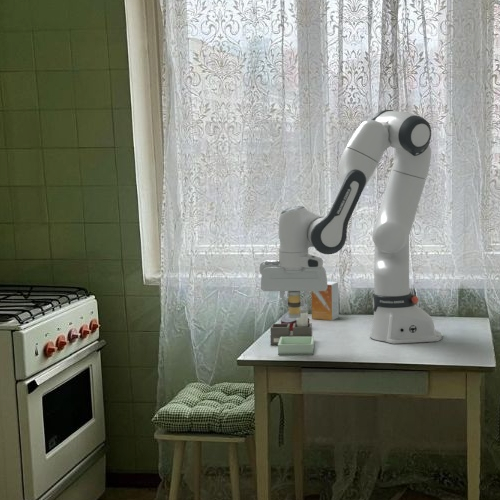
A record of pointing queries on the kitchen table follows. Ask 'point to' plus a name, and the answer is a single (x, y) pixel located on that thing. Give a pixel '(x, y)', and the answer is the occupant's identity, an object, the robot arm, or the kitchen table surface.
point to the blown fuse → (294, 304)
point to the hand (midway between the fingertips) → (294, 305)
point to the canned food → (290, 319)
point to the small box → (326, 302)
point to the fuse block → (288, 332)
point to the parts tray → (295, 345)
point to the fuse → (303, 317)
